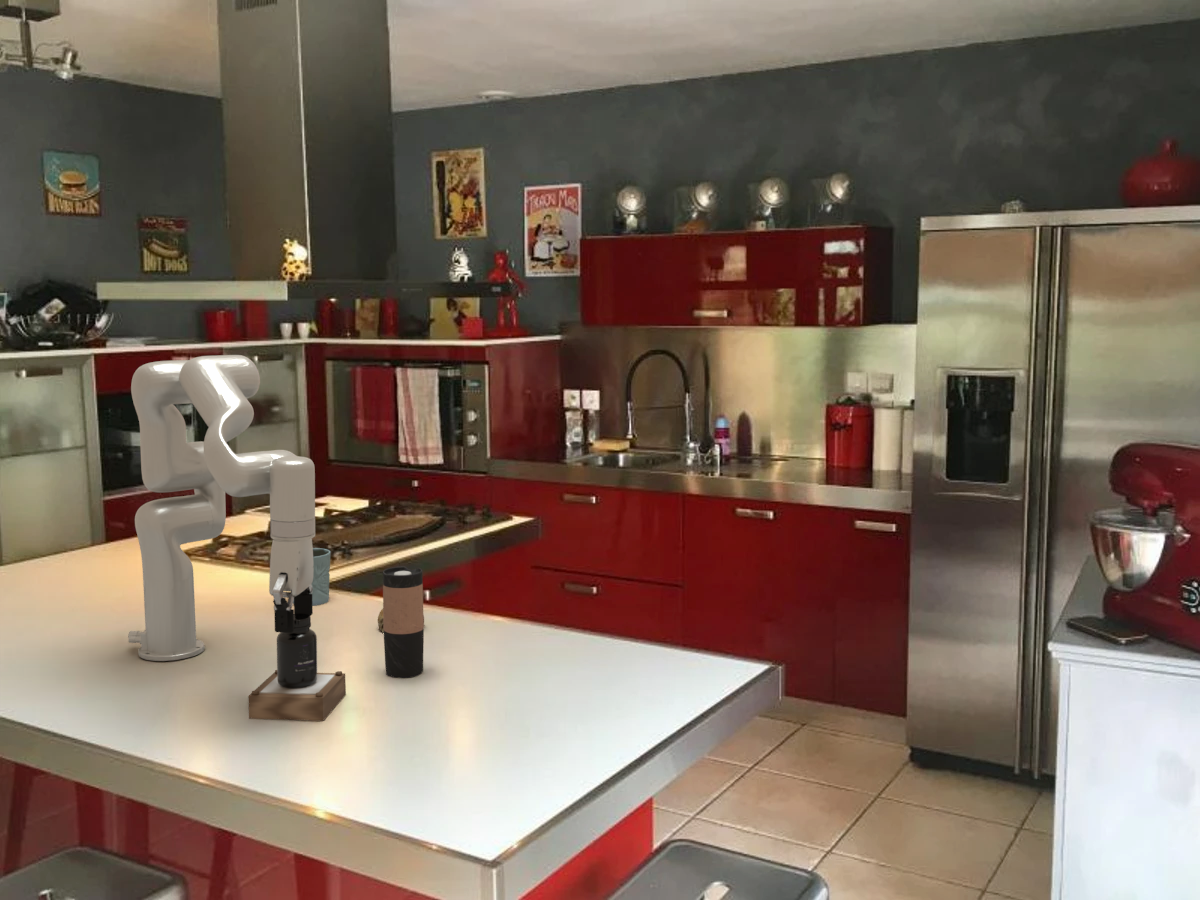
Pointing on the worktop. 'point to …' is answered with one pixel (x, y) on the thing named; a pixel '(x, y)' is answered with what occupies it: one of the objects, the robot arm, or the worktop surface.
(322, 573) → the drinking glass
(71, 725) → the worktop surface
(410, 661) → the travel mug
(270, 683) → the walnut base block
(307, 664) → the supplement bottle
